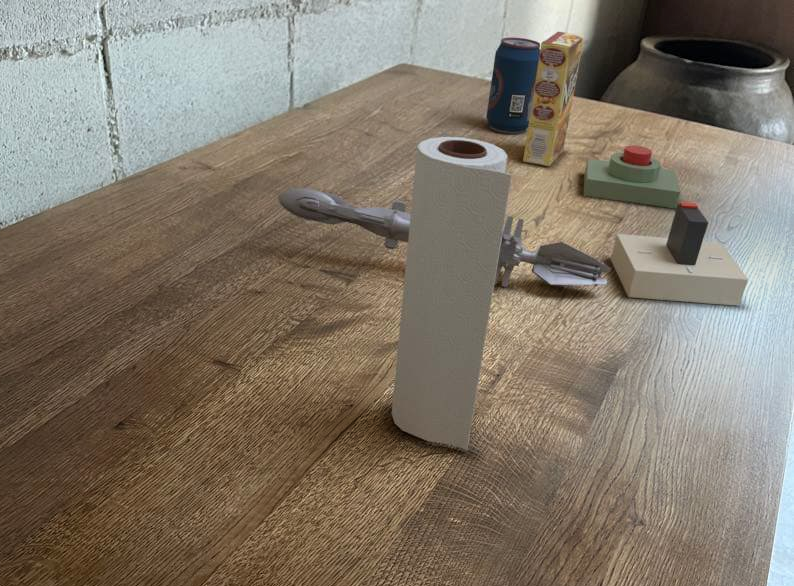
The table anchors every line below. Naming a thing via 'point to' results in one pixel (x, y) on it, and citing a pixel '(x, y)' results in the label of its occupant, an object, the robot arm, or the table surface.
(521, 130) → the soda can
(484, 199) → the paper towel roll
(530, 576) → the table surface
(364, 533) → the table surface
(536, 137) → the candy box
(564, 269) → the spaceship
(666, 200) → the switch box
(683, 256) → the hob knob
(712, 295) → the panel
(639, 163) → the red push button
